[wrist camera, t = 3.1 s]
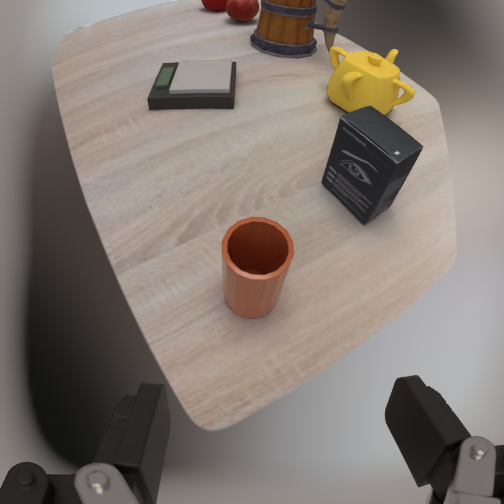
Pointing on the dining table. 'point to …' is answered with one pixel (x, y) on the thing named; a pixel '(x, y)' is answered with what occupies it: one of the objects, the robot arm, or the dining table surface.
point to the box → (369, 162)
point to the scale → (194, 85)
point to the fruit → (242, 9)
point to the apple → (215, 4)
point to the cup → (255, 265)
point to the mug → (294, 27)
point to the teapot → (366, 81)
